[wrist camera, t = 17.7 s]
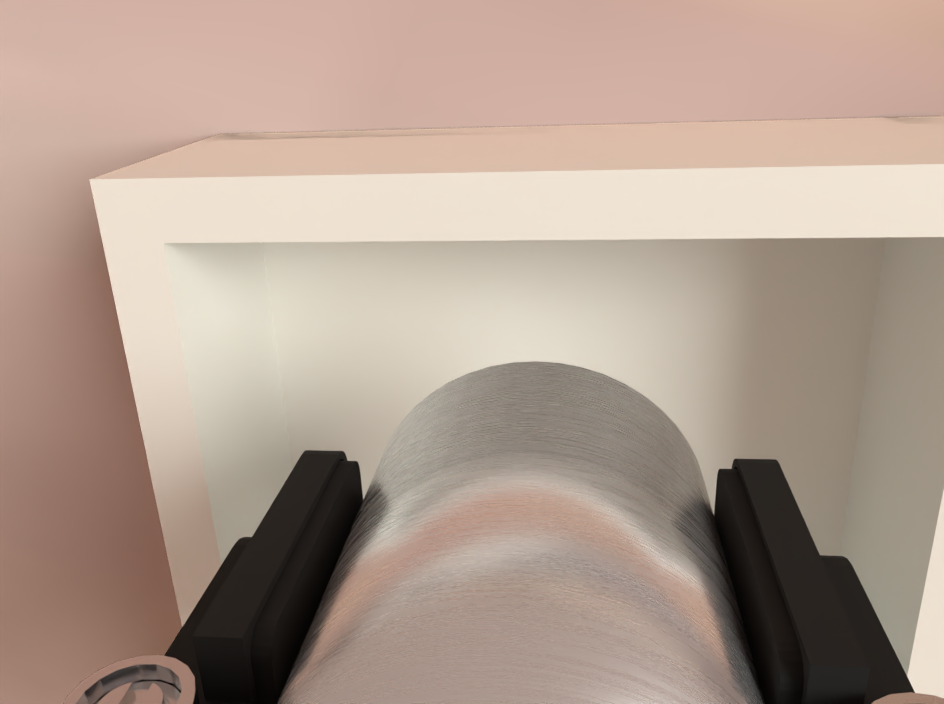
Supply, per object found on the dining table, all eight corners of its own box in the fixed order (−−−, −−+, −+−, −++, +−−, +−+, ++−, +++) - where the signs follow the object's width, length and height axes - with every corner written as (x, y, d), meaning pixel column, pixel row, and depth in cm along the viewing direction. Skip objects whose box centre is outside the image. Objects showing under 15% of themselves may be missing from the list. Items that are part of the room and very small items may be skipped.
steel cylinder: (719, 362, 12) (900, 814, 5) (697, 652, 13) (810, 1249, 7) (361, 360, 12) (119, 762, 6) (387, 638, 14) (229, 1177, 8)
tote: (940, 116, 16) (1088, 161, 11) (826, 817, 22) (890, 1026, 18) (219, 133, 17) (89, 179, 13) (314, 779, 24) (250, 961, 20)
